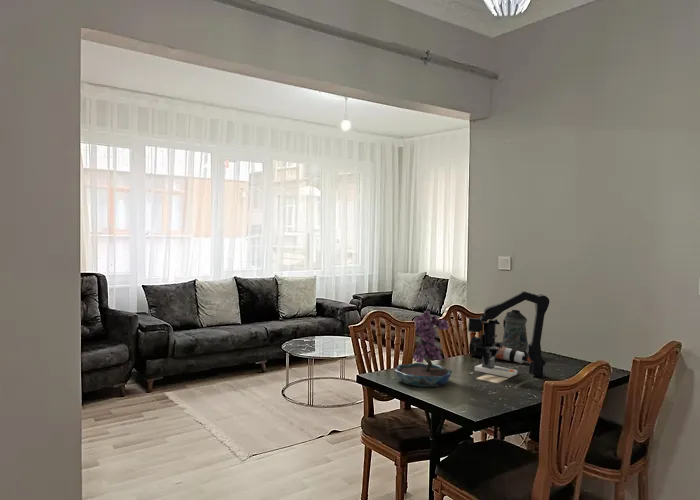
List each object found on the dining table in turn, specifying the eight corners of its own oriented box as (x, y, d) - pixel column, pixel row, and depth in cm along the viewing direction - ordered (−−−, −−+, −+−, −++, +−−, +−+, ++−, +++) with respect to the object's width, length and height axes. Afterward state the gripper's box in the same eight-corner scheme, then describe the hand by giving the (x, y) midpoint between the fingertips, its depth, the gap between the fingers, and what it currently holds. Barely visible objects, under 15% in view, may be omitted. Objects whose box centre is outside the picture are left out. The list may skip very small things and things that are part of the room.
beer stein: (519, 358, 298) (520, 313, 297) (489, 351, 313) (491, 309, 312) (535, 354, 308) (536, 311, 308) (506, 348, 323) (507, 307, 323)
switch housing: (517, 376, 258) (517, 368, 258) (509, 379, 251) (509, 371, 251) (483, 369, 270) (483, 362, 270) (474, 372, 263) (474, 365, 263)
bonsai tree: (433, 394, 225) (436, 317, 224) (380, 382, 241) (382, 310, 240) (469, 378, 252) (472, 309, 251) (419, 368, 269) (421, 303, 268)
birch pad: (508, 380, 249) (508, 378, 249) (497, 385, 241) (497, 383, 241) (486, 376, 257) (486, 374, 257) (475, 380, 248) (475, 378, 248)
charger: (494, 370, 263) (494, 356, 263) (490, 371, 260) (490, 357, 260) (486, 368, 266) (486, 354, 266) (481, 370, 263) (482, 356, 263)
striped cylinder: (529, 373, 282) (529, 358, 277) (469, 357, 300) (468, 343, 295) (535, 362, 289) (535, 347, 284) (476, 347, 307) (475, 333, 302)
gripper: (483, 328, 275) (482, 358, 275) (465, 332, 261) (464, 364, 261) (503, 331, 268) (502, 362, 268) (486, 335, 254) (485, 368, 254)
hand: (488, 364), depth 263 cm, fingers closed on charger, 4 cm apart
